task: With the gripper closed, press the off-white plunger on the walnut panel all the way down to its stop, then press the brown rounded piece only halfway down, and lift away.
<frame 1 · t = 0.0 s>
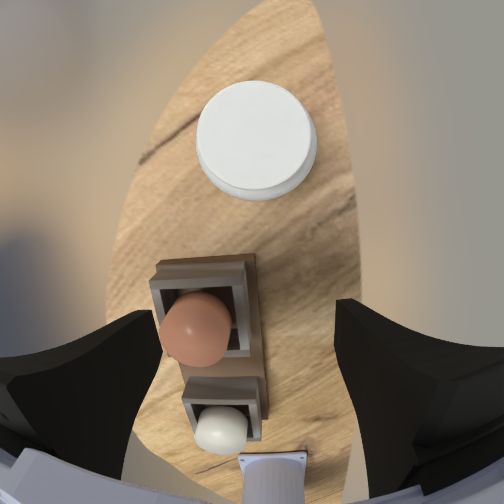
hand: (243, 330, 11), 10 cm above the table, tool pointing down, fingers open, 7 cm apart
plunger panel: (220, 348, 23), on the table
supplement bottle: (259, 151, 18), on the table
white plunger: (221, 431, 19), point 5 cm above the table, slide at 0.0 cm
brown rounded piece: (196, 329, 17), point 5 cm above the table, slide at 0.0 cm
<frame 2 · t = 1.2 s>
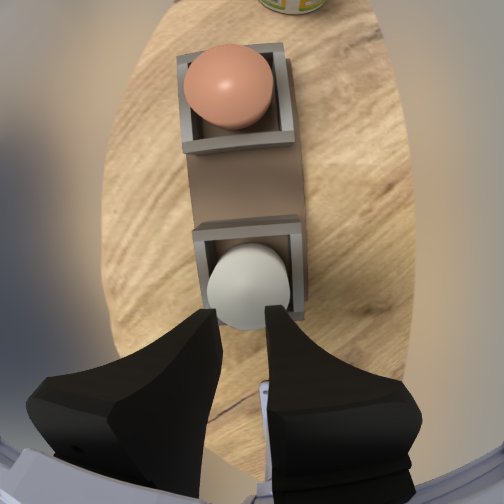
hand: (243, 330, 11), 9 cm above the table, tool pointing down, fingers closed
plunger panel: (246, 183, 18), on the table
white plunger: (249, 285, 15), point 5 cm above the table, slide at 0.0 cm
brown rounded piece: (230, 88, 12), point 5 cm above the table, slide at 0.0 cm
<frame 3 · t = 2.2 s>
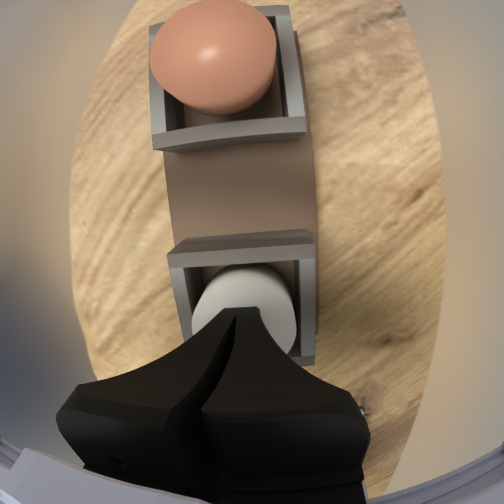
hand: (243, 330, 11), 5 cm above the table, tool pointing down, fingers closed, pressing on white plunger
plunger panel: (241, 187, 14), on the table
white plunger: (245, 316, 12), point 4 cm above the table, slide at 1.0 cm, touching gripper
brown rounded piece: (216, 58, 8), point 5 cm above the table, slide at 0.0 cm
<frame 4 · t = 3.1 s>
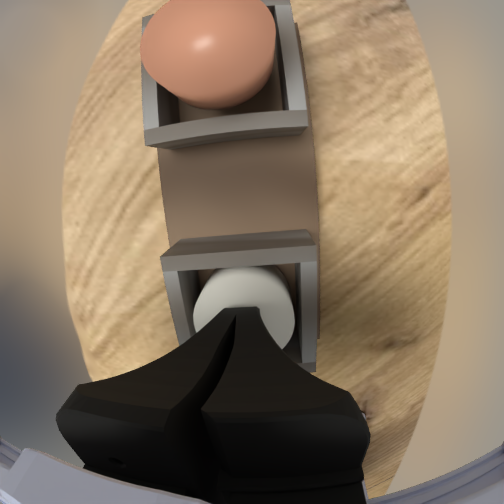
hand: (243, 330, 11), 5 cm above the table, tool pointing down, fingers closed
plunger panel: (239, 185, 14), on the table
white plunger: (245, 309, 12), point 3 cm above the table, slide at 2.1 cm
brown rounded piece: (212, 48, 7), point 5 cm above the table, slide at 0.0 cm
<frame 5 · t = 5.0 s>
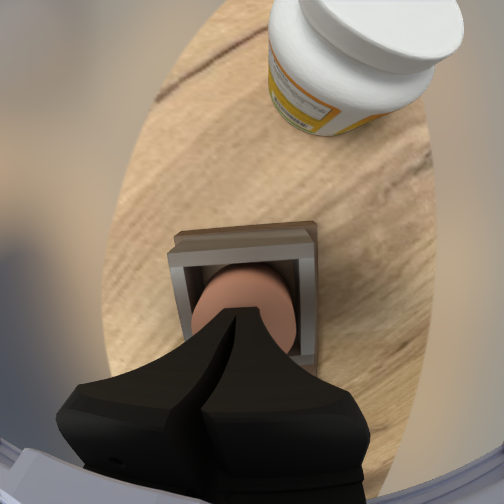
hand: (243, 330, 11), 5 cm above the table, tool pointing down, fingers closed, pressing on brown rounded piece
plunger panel: (258, 353, 17), on the table
supplement bottle: (319, 89, 13), on the table
brown rounded piece: (245, 316, 12), point 4 cm above the table, slide at 0.9 cm, touching gripper
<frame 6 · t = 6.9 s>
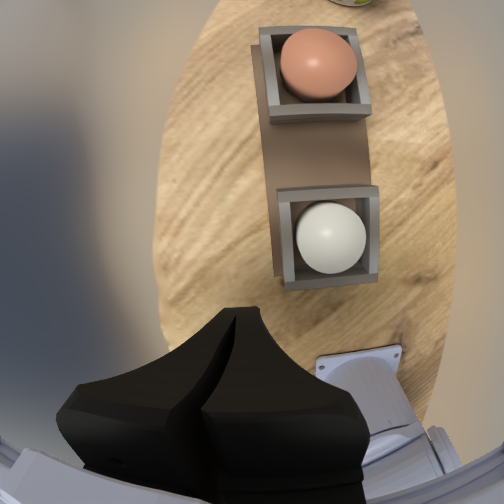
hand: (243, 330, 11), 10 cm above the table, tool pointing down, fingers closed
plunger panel: (314, 154, 18), on the table
white plunger: (328, 235, 17), point 3 cm above the table, slide at 2.1 cm
brown rounded piece: (316, 65, 13), point 4 cm above the table, slide at 0.9 cm
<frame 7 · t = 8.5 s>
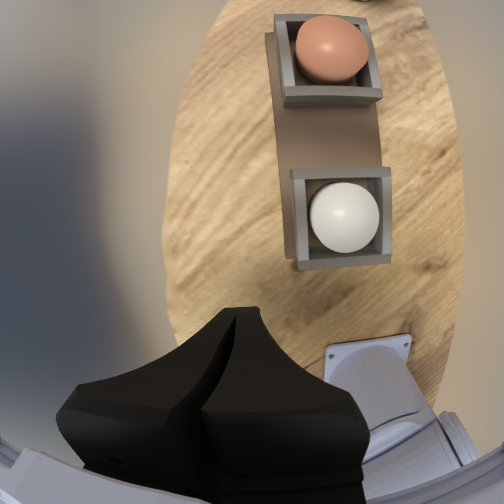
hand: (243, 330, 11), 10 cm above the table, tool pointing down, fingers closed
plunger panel: (326, 138, 18), on the table
white plunger: (342, 215, 17), point 3 cm above the table, slide at 2.1 cm
brown rounded piece: (329, 51, 13), point 4 cm above the table, slide at 0.9 cm
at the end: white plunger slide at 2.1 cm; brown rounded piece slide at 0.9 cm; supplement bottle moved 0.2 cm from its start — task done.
